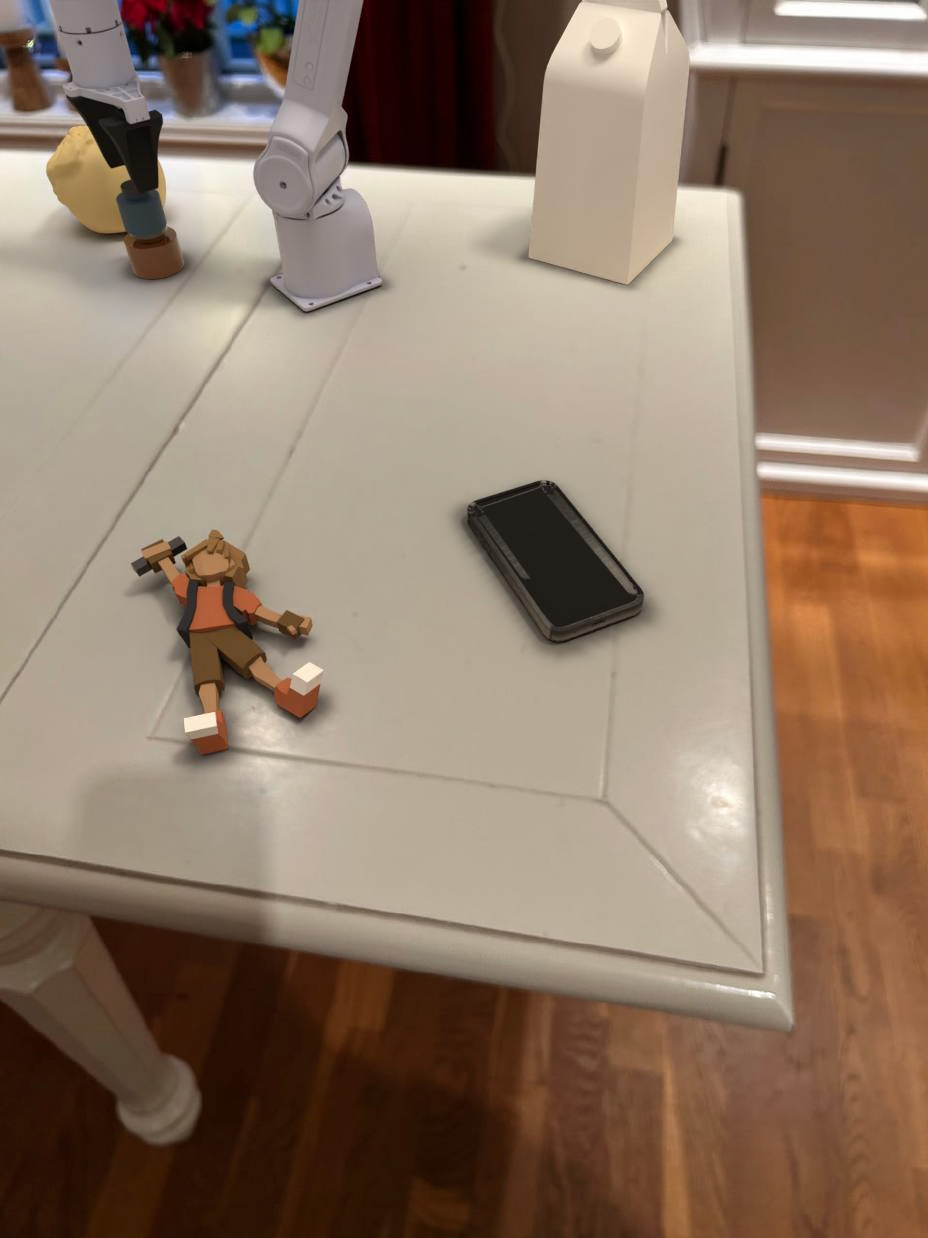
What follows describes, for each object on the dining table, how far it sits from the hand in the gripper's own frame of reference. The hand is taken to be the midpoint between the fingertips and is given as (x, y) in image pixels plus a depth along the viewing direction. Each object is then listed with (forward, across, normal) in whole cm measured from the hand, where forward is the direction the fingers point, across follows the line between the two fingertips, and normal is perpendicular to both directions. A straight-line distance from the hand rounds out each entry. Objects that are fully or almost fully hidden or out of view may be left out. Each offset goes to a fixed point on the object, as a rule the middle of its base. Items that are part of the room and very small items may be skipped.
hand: (133, 177), depth 94 cm
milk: (+10, +27, +41) cm, 50 cm away
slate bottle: (+5, 0, 0) cm, 5 cm away
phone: (+10, +62, +5) cm, 63 cm away
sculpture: (+10, -13, +1) cm, 16 cm away
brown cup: (+10, 0, 0) cm, 10 cm away
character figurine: (+10, +55, -18) cm, 59 cm away
